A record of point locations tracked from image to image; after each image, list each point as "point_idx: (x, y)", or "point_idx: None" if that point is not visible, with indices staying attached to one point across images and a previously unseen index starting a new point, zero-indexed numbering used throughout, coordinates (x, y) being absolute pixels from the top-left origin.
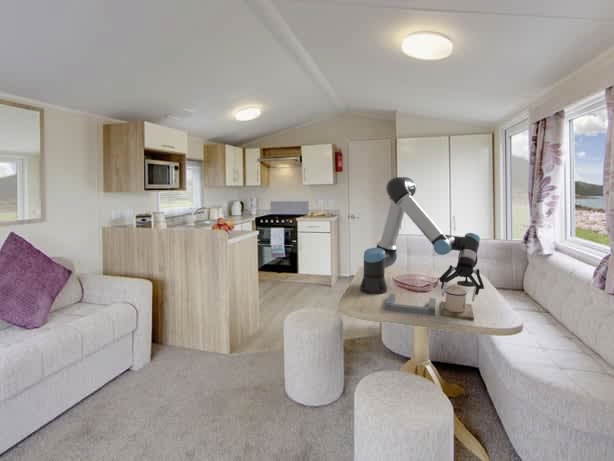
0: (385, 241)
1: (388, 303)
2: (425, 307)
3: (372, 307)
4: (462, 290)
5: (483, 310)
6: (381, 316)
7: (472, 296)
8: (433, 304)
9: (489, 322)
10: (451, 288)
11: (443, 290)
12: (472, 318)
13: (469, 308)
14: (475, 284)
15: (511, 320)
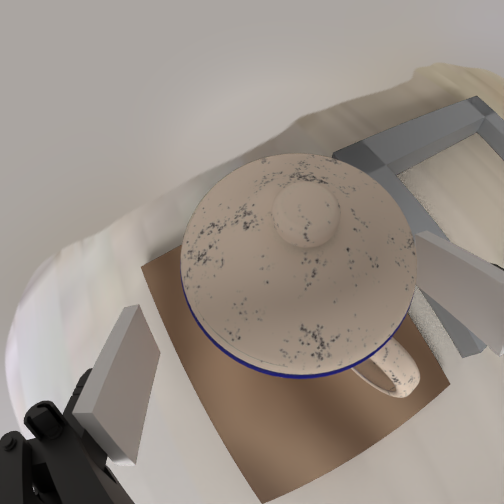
0: None
1: (484, 109)
2: (393, 156)
3: (493, 106)
4: (222, 265)
5: (171, 486)
6: (417, 68)
7: (129, 318)
8: (412, 230)
9: (82, 306)
10: (342, 188)
11: (437, 244)
12: (150, 266)
13: (229, 416)
14: (76, 449)
15: (27, 410)
